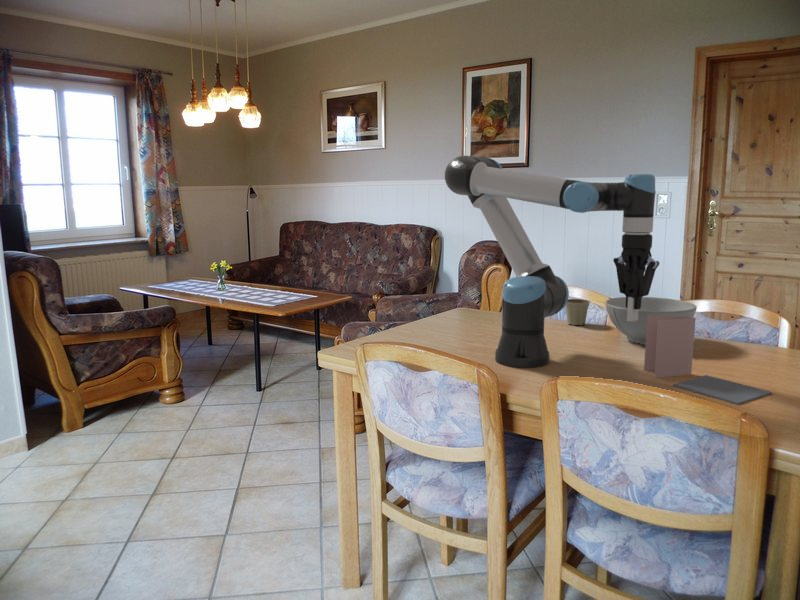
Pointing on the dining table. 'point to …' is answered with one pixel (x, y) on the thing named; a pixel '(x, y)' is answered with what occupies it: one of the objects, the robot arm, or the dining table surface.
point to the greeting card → (669, 345)
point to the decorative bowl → (645, 314)
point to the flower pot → (576, 311)
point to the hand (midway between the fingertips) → (632, 320)
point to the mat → (722, 389)
